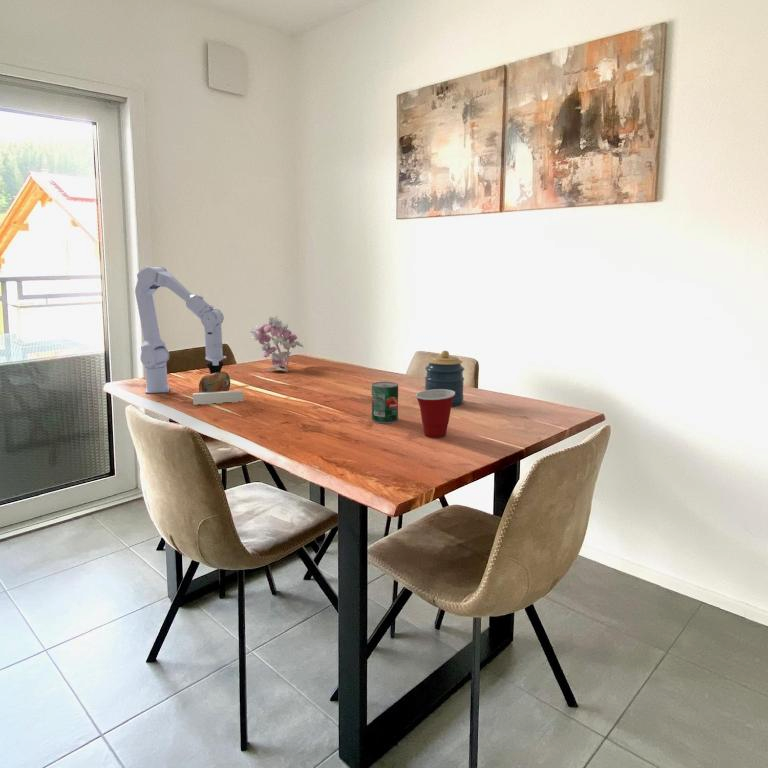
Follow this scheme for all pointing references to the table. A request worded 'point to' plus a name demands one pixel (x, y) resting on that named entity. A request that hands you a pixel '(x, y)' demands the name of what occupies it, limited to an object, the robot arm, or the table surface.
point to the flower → (276, 341)
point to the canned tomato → (384, 402)
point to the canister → (446, 375)
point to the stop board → (217, 397)
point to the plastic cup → (435, 411)
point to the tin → (215, 382)
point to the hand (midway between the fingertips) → (215, 382)
